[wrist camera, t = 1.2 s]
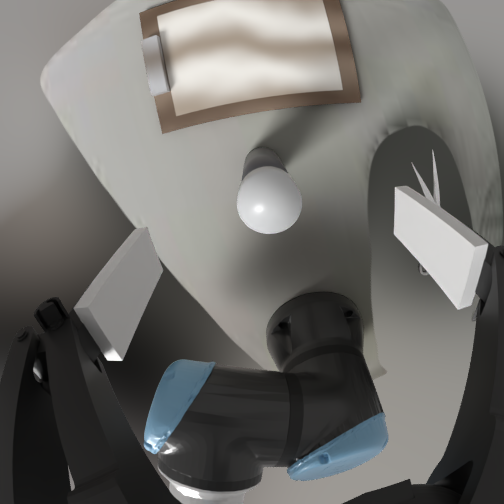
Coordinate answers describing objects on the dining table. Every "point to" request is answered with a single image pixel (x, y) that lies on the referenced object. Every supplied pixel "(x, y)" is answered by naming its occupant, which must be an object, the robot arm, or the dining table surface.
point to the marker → (267, 193)
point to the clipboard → (245, 58)
